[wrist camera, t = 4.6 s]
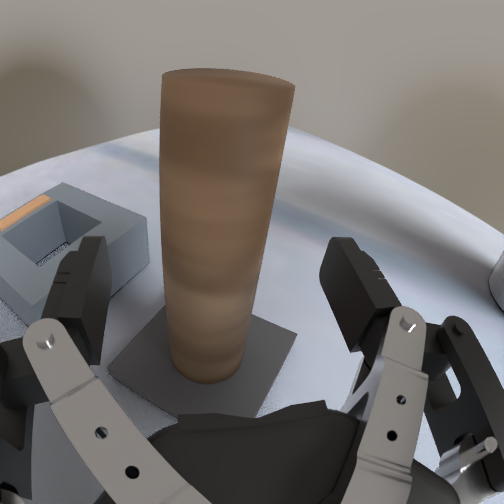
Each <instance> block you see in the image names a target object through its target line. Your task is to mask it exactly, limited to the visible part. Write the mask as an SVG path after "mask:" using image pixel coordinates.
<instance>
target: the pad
mask: <svg viewBox="0 0 504 504" xmlns="http://www.w3.org/2000/svg"><path fill="white" fill-rule="evenodd" d="M296 336H297V334H296V333H294V332H292V331H289V330H287V329H285V328H282V327H280V326H278V325H275V324H273V323H271V322H268V321H266V320H264V319H262V318H259V317H257V316H255V315H253V314H251V318H250V323H249V328H248V333H247V338H246V343H245V348H244V352H243V357H242V362H241V365H240V367H239V369H238V370H237V372H236V373H235V374H234V375H233V376H231V377H230V378H228V379H227V380H225V381H222V382H219V383H214V384H201V383H196V382H194V381H191V380H189V379H187V378H185V377H184V376H182V375H181V374H180V373H179V372H178V371H177V370H176V368H175V367H174V365H173V363H172V359H171V353H170V344H169V335H168V325H167V315H166V305H165V306H164V307H163V308H162V309H161V310H160V311H159V312H158V313H157V314H156V315H155V317H154V318H153V319H152V320H151V321H150V322H149V323H148V324H147V325H146V326H145V327H144V328H143V329H142V330H141V331H140V333H139V334H138V335H137V336H136V337H135V338H134V339H133V340H132V341H131V342H130V343H129V344H128V345H127V347H126V348H125V349H124V350H123V351H122V352H121V353H120V354H119V355H118V356H117V357H116V358H115V360H114V361H113V362H112V363H111V364H110V365H109V366H108V367H107V369H108V371H109V374H110V375H111V376H112V377H114V378H115V379H117V380H118V381H119V382H121V383H122V384H124V385H125V386H127V387H128V388H130V389H131V390H133V391H134V392H136V393H137V394H139V395H140V396H142V397H144V398H145V399H147V400H148V401H150V402H151V403H153V404H155V405H156V406H158V407H159V408H161V409H163V410H164V411H166V412H168V413H169V414H171V415H173V416H175V417H176V418H178V414H203V413H220V414H226V415H233V416H240V417H247V418H255V417H256V415H257V413H258V411H259V409H260V407H261V406H262V404H263V402H264V400H265V398H266V396H267V394H268V392H269V390H270V389H271V387H272V385H273V383H274V381H275V379H276V377H277V375H278V373H279V371H280V369H281V367H282V365H283V363H284V361H285V359H286V357H287V355H288V353H289V351H290V349H291V347H292V345H293V343H294V341H295V339H296Z"/></svg>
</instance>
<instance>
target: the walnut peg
mask: <svg viewBox="0 0 504 504" xmlns="http://www.w3.org/2000/svg"><path fill="white" fill-rule="evenodd" d="M294 91H295V86H294V85H293V84H292V83H289V82H288V81H285V80H282V79H279V78H276V77H272V76H268V75H264V74H259V73H253V72H246V71H238V70H229V69H210V68H207V69H206V68H198V69H197V68H196V69H181V70H174V71H169V72H166V73H164V74H163V75H162V88H161V110H160V157H159V175H160V222H161V246H162V263H163V279H164V292H165V304H166V315H167V325H168V335H169V344H170V353H171V359H172V363H173V365H174V367H175V368H176V370H177V371H178V372H179V373H180V374H181V375H182V376H184V377H185V378H187V379H189V380H191V381H194V382H196V383H201V384H214V383H219V382H222V381H225V380H227V379H228V378H230V377H231V376H233V375H234V374H235V373H236V372H237V370H238V369H239V367H240V365H241V362H242V357H243V352H244V348H245V343H246V338H247V333H248V328H249V323H250V318H251V313H252V308H253V304H254V299H255V294H256V289H257V284H258V279H259V274H260V269H261V264H262V259H263V254H264V248H265V243H266V238H267V233H268V228H269V223H270V218H271V213H272V208H273V202H274V197H275V192H276V187H277V182H278V176H279V171H280V166H281V161H282V155H283V150H284V145H285V140H286V134H287V129H288V123H289V118H290V113H291V107H292V102H293V96H294Z"/></svg>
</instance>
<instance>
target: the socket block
mask: <svg viewBox="0 0 504 504" xmlns="http://www.w3.org/2000/svg"><path fill="white" fill-rule="evenodd" d="M83 236H105V238H106V242H107V248H108V254H109V260H110V265H111V270H112V287H111V293H110V297H111V296H112V295H113V294H115V293H116V292H117V291H118V290H119V289H120V288H121V287H122V286H123V285H125V284H126V283H127V282H128V281H129V280H130V279H131V278H132V277H133V276H135V275H136V274H137V273H138V272H139V271H140V270H141V269H143V268H144V267H145V266H146V265H147V264H148V263H149V262H150V261H149V249H148V235H147V218H146V217H144V216H142V215H139V214H137V213H135V212H132V211H130V210H127V209H125V208H123V207H120V206H118V205H115V204H113V203H111V202H108V201H106V200H104V199H101V198H99V197H96V196H94V195H92V194H89V193H87V192H85V191H82V190H80V189H77V188H75V187H73V186H70V185H68V184H66V183H61V184H59V185H57V186H55V187H54V188H52V189H50V190H48V191H46V192H45V193H43V194H41V195H39V196H38V197H36V198H34V199H33V200H31V201H29V202H28V203H26V204H24V205H23V206H21V207H19V208H18V209H16V210H14V211H13V212H11V213H10V214H8V215H7V216H5V217H3V218H2V219H0V298H1V299H2V300H3V301H4V302H5V303H6V304H7V305H8V306H9V307H10V308H11V309H12V310H13V311H14V313H15V314H16V315H17V316H18V317H19V318H20V319H21V320H22V321H23V322H24V323H25V324H26V325H28V326H30V325H31V324H33V323H34V322H36V321H38V320H40V319H41V316H42V312H43V309H44V306H45V303H46V300H47V297H48V294H49V291H50V288H51V285H52V284H53V280H54V277H55V275H56V271H57V269H58V266H59V264H60V261H61V260H62V259H63V258H64V257H65V255H66V254H67V253H68V252H69V251H78V248H79V246H80V243H81V240H82V238H83ZM64 242H68V243H70V245H69V246H67V247H66V248H65V249H63V250H62V251H60V252H59V253H58V254H56V255H55V256H54V257H52V258H51V259H50V260H48V261H47V262H46V263H44V264H43V265H42V266H40V267H39V266H37V265H36V263H37V262H38V261H40V260H41V259H42V258H44V257H45V256H46V255H48V254H49V253H50V252H52V251H53V250H55V249H56V248H57V247H59V246H60V245H62V244H63V243H64Z"/></svg>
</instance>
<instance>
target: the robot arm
mask: <svg viewBox="0 0 504 504" xmlns="http://www.w3.org/2000/svg"><path fill="white" fill-rule="evenodd" d="M493 270H494V271H493V273H492V274H491V276H490V278H489V286H490V290H491V292H492V295H493V297H494V298H495V300H496V302H497V303H498V305H499V306H500V307H501V309H502V310H503V311H504V251H503V253H502V254H501V256H500V258H499V260H498V261H497V263H496V264H495V266H494V268H493ZM319 279H320V284H321V286H322V288H323V291H324V293H325V295H326V298H327V300H328V302H329V304H330V307H331V309H332V311H333V314H334V316H335V318H336V321H337V323H338V325H339V328H340V330H341V332H342V335H343V337H344V339H345V342H346V344H347V347H348V349H349V351H350V353H352V352H358V351H362V353H363V355H364V356H363V357H362V359H361V361H360V363H359V366H358V369H357V372H356V375H355V378H354V381H353V384H352V387H351V389H350V392H349V395H348V397H347V400H346V402H345V404H344V406H343V407H342V409H341V410H340V411H337V410H332V409H327V406H326V403H325V400H321V401H315V402H309V403H302V404H296V405H290V406H288V407H285V408H283V409H280V410H278V411H275V412H273V413H270V414H268V415H265V416H262V417H259V418H247V417H240V416H233V415H226V414H220V413H203V414H178V423H177V424H174V425H170V426H168V427H165V428H163V429H161V430H159V431H157V432H155V433H154V434H152V435H151V436H150V437H148V438H147V439H146V438H145V437H144V436H143V434H142V433H141V432H140V431H139V430H138V428H137V427H136V426H135V425H134V424H133V422H132V421H131V420H130V419H129V417H128V416H127V415H126V414H125V412H124V411H123V410H122V408H121V407H120V406H119V405H118V403H117V402H116V401H115V399H114V398H113V397H112V395H111V394H110V393H109V391H108V390H107V388H106V387H105V386H104V384H103V383H102V382H101V380H100V379H99V378H98V377H97V376H95V375H94V373H93V372H92V370H91V369H90V365H100V359H101V351H102V343H103V336H104V329H105V323H106V316H107V310H108V304H109V299H110V293H111V287H112V270H111V265H110V260H109V254H108V248H107V242H106V238H105V236H83V238H82V240H81V243H80V246H79V248H78V251H69V252H68V253H67V254H66V255H65V257H64V258H63V259H62V260H61V261H60V264H59V266H58V269H57V271H56V275H55V277H54V280H53V284H52V285H51V288H50V291H49V294H48V297H47V300H46V303H45V306H44V309H43V312H42V316H41V319H40V320H38V321H36V322H34V323H33V324H31V325H30V326H29V327H28V329H27V330H26V332H25V334H24V337H21V338H18V339H14V340H10V341H6V342H1V343H0V504H37V503H35V502H34V501H32V492H31V448H32V428H33V415H34V404H38V403H43V402H47V401H50V403H51V404H50V407H51V409H52V411H53V413H54V415H55V417H56V418H57V420H58V422H59V423H60V425H61V427H62V428H63V430H64V432H65V433H66V435H67V437H68V438H69V440H70V441H71V443H72V444H73V446H74V447H75V449H76V450H77V452H78V453H79V455H80V456H81V458H82V459H83V461H84V462H85V464H86V465H87V466H88V468H89V469H90V471H91V472H92V473H93V475H94V476H95V477H96V479H97V480H98V481H99V483H100V484H101V485H102V487H103V488H104V489H105V490H104V491H103V493H102V494H101V495H100V496H99V498H98V499H97V500H96V501H95V503H94V504H479V503H481V502H482V501H484V500H486V499H488V498H491V497H493V496H495V495H498V494H500V493H502V492H504V389H503V387H502V385H501V383H500V381H499V379H498V377H497V375H496V373H495V371H494V369H493V367H492V365H491V363H490V361H489V360H488V358H487V356H486V354H485V352H484V350H483V348H482V347H481V345H480V343H479V341H478V339H477V338H476V336H475V334H474V332H473V331H472V329H471V327H470V326H469V325H468V323H467V322H466V321H464V320H463V319H461V318H459V317H457V316H449V317H447V318H446V319H445V320H444V322H443V323H442V324H441V325H437V324H431V323H425V321H424V319H423V318H422V316H421V315H420V314H419V313H418V312H416V311H415V310H413V309H411V308H409V307H405V306H402V305H401V303H400V301H399V300H398V298H397V296H396V295H395V293H394V291H393V290H392V288H391V287H390V285H389V283H388V282H387V280H386V279H385V277H384V275H383V274H382V272H381V271H380V269H379V267H378V266H377V264H376V263H375V261H374V259H372V258H371V257H370V256H369V255H368V254H367V253H365V252H364V251H361V250H360V249H359V247H358V245H357V244H356V242H355V241H354V239H353V238H350V237H332V238H331V239H330V241H329V244H328V247H327V250H326V253H325V256H324V259H323V261H322V264H321V267H320V272H319ZM450 367H452V369H453V371H454V373H455V375H456V377H457V380H458V382H459V384H460V387H461V393H460V396H459V398H458V399H457V398H456V396H455V393H454V391H453V389H452V387H451V384H450V382H449V380H448V378H447V376H446V373H445V372H446V371H447V370H448V369H449V368H450ZM423 411H424V413H425V416H426V419H427V421H428V424H429V427H430V429H431V432H432V435H433V438H434V441H435V444H436V446H437V449H438V452H439V455H440V458H441V459H440V462H439V467H437V468H436V470H435V472H433V471H431V470H430V469H428V468H427V467H425V466H424V465H423V464H421V463H420V462H418V461H417V460H415V459H414V458H413V457H414V453H415V449H416V444H417V440H418V435H419V431H420V426H421V421H422V416H423Z"/></svg>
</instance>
